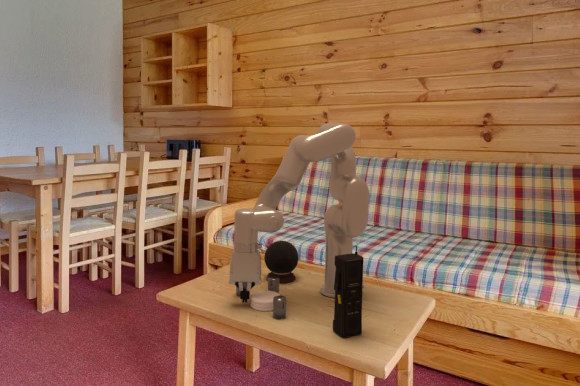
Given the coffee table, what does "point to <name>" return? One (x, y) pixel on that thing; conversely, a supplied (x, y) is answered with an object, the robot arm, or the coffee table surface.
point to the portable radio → (348, 294)
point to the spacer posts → (278, 301)
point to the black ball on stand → (281, 261)
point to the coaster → (263, 300)
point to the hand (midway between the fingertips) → (244, 301)
